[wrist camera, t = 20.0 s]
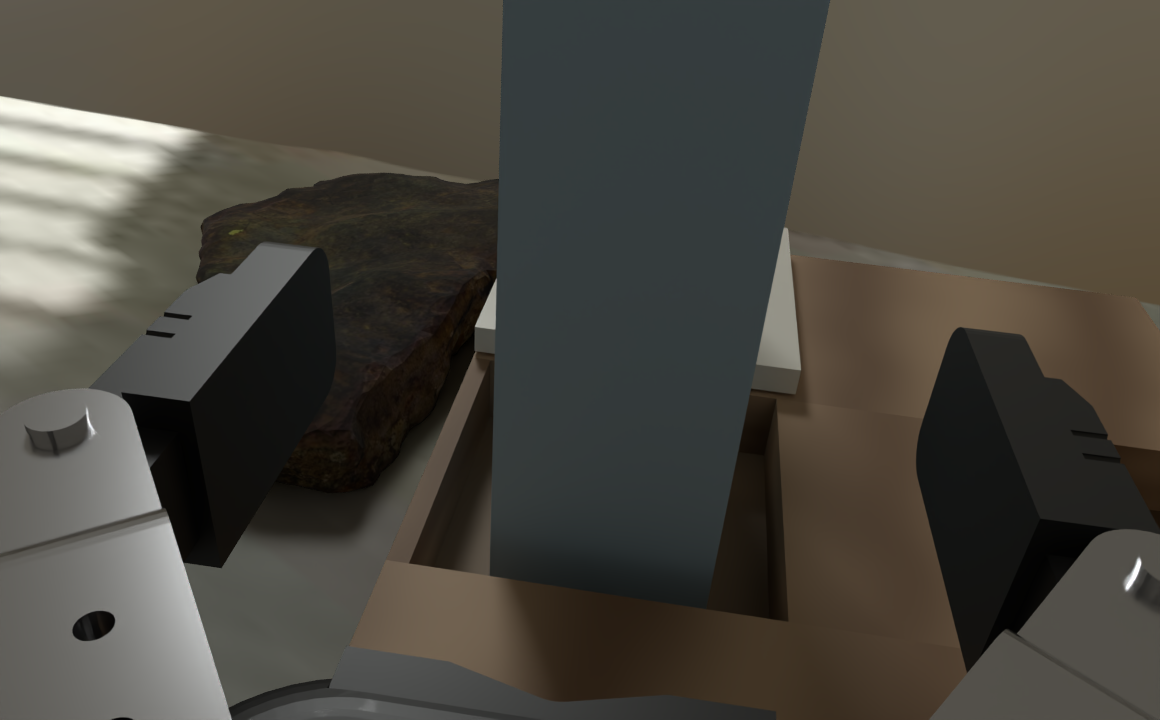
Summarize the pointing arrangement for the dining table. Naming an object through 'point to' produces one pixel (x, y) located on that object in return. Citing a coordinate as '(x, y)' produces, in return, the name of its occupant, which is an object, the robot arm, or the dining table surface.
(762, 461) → the board
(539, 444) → the block
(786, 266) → the lid
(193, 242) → the dining table surface
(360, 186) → the stone
